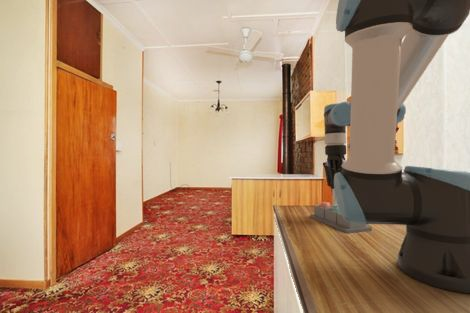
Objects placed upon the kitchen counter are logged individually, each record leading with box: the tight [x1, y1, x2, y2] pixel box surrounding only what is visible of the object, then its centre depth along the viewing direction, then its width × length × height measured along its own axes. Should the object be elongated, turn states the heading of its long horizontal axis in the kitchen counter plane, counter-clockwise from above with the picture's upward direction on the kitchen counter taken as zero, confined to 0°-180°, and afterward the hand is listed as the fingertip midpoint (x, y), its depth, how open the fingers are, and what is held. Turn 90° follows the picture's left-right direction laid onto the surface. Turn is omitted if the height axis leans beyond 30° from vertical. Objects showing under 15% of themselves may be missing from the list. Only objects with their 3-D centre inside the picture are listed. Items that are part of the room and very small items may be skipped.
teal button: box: [331, 204, 340, 212], centre depth 88 cm, size 4×4×4 cm
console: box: [309, 204, 373, 234], centre depth 88 cm, size 22×10×5 cm, turn 15°
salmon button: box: [320, 201, 331, 208], centre depth 95 cm, size 4×4×4 cm
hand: (336, 205), depth 88 cm, fingers closed
